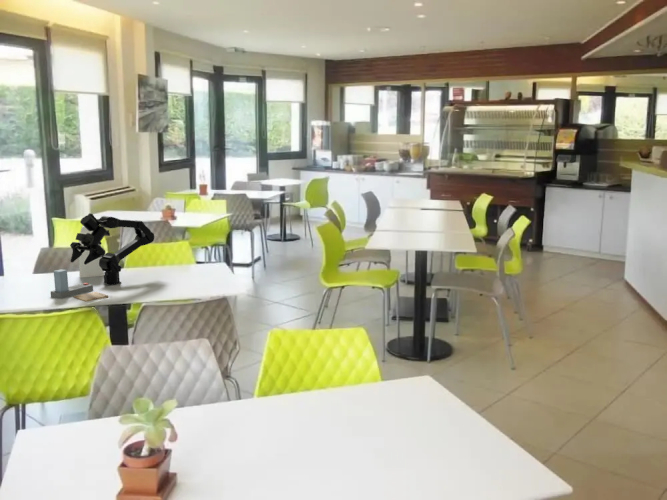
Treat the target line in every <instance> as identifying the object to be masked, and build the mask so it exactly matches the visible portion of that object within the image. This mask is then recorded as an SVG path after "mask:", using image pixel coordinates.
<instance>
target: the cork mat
mask: <svg viewBox="0 0 667 500" xmlns="http://www.w3.org/2000/svg"><path fill="white" fill-rule="evenodd" d="M72 298H74V299H77V300H80V301H83V302H86V303H87V302H90V301H91V302H92V301H94V300H101V299H102V300H103V299H104V298H105V299H108V298H109V295H108V294H104V293H101V292H97V291H92V292H89V293H88V292H86V293H81V294H77V295H73V296H72ZM105 299H104V300H105Z"/></svg>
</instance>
